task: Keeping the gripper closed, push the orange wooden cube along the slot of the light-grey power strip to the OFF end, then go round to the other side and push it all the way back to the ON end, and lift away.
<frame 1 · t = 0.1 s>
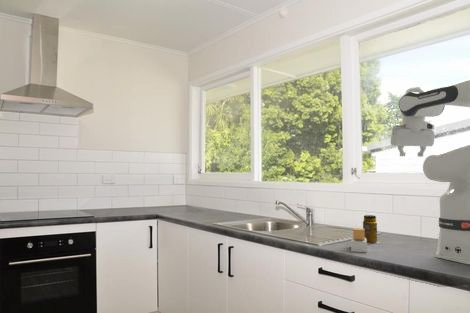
hand: (411, 156, 165), 39 cm above the worktop, tool pointing down, fingers open, 8 cm apart
condiment: (368, 242, 170), on the worktop
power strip: (359, 249, 154), on the worktop
orange wooden cube: (358, 233, 154), point 6 cm above the worktop, slide at 0.0 cm
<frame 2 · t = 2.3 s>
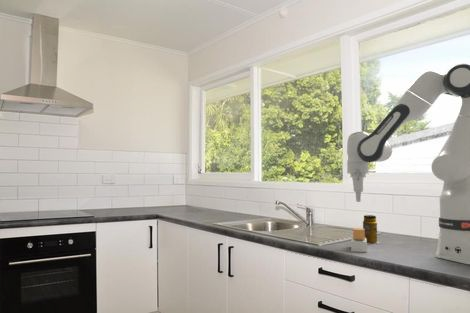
hand: (358, 201, 161), 19 cm above the worktop, tool pointing down, fingers closed
nothing on the worktop moved.
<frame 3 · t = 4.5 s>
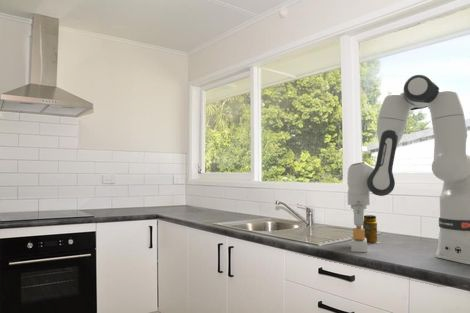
hand: (358, 233, 158), 6 cm above the worktop, tool pointing down, fingers closed
orange wooden cube: (358, 233, 154), point 6 cm above the worktop, slide at 0.0 cm, touching gripper
everything else where it was.
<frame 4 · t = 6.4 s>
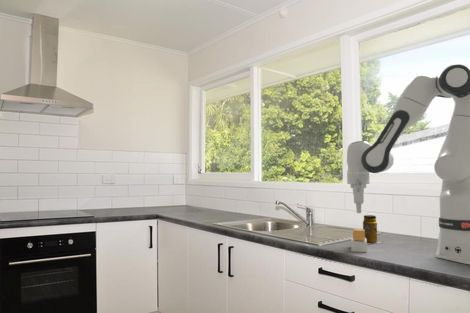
hand: (358, 213, 156), 15 cm above the worktop, tool pointing down, fingers closed
orange wooden cube: (358, 234, 152), point 6 cm above the worktop, slide at 2.5 cm
everything else where it was.
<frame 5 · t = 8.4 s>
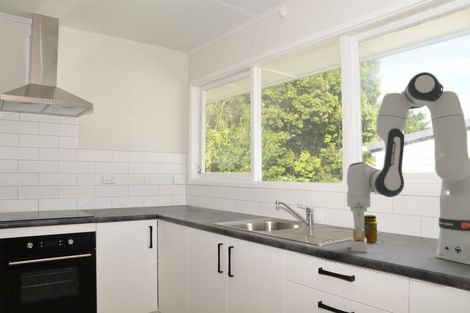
hand: (359, 237, 149), 6 cm above the worktop, tool pointing down, fingers closed
orange wooden cube: (358, 234, 152), point 6 cm above the worktop, slide at 1.7 cm, touching gripper
everything else where it was.
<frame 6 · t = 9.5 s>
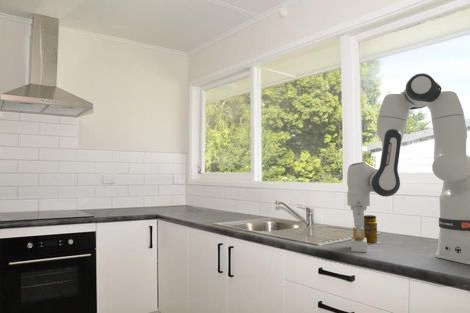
hand: (358, 235, 153), 6 cm above the worktop, tool pointing down, fingers closed
orange wooden cube: (358, 232, 157), point 6 cm above the worktop, slide at -2.7 cm, touching gripper
everything else where it was.
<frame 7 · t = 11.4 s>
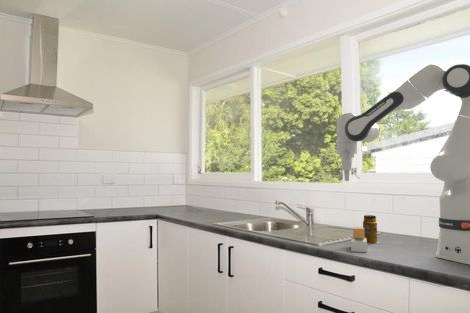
hand: (346, 180, 166), 28 cm above the worktop, tool pointing down, fingers closed
orange wooden cube: (358, 232, 156), point 6 cm above the worktop, slide at -2.5 cm
everything else where it was.
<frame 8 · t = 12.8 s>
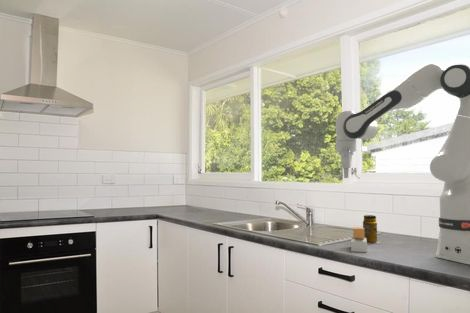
hand: (346, 178, 168), 29 cm above the worktop, tool pointing down, fingers closed
nothing on the worktop moved.
at the end: orange wooden cube slide at -2.5 cm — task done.
